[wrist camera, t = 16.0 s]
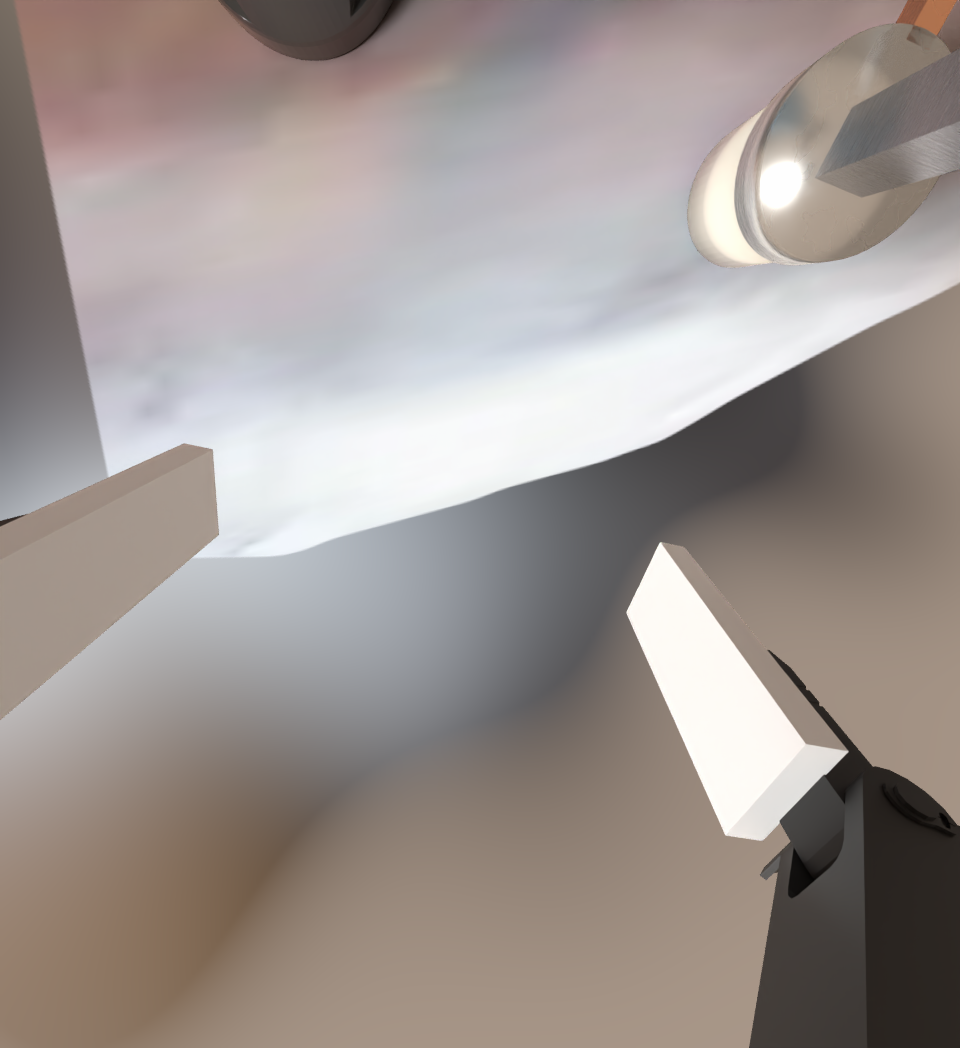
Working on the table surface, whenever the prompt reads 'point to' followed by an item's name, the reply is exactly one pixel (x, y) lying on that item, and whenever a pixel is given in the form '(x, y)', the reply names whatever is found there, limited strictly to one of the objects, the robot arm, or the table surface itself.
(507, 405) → the table surface
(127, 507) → the robot arm
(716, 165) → the jar
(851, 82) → the lid
